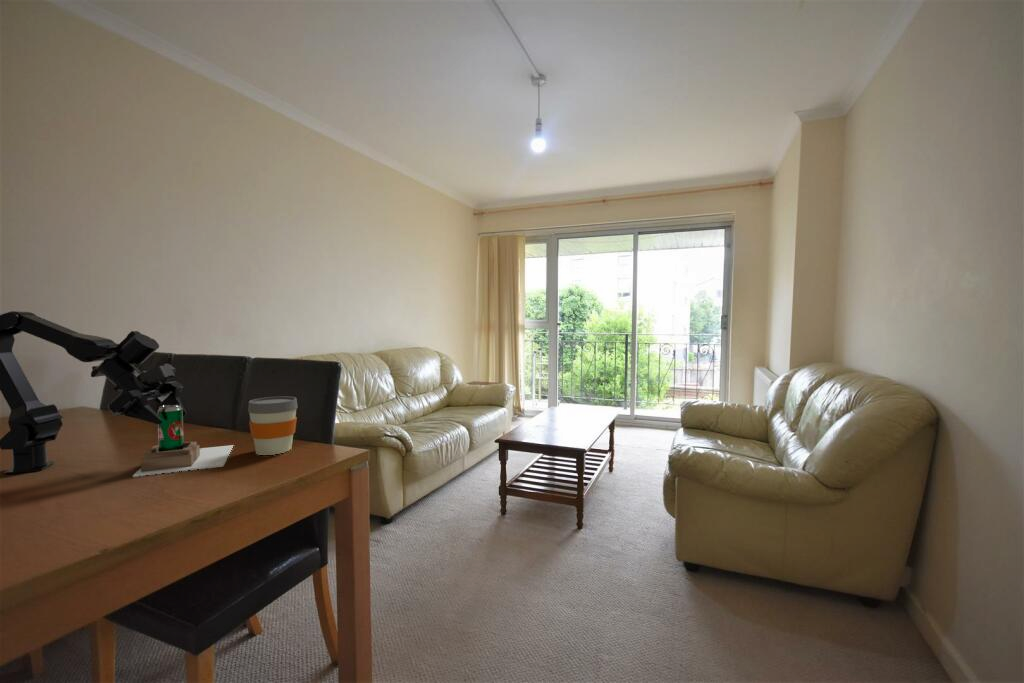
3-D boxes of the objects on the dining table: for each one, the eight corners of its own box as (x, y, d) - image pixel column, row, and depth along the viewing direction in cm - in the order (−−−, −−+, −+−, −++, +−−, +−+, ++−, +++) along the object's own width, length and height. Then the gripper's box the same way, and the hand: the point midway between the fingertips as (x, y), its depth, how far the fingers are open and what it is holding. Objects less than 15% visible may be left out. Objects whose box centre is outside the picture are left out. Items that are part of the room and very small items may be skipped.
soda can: (159, 451, 111) (158, 405, 110) (184, 447, 114) (182, 403, 113) (157, 456, 107) (156, 408, 106) (183, 452, 110) (182, 406, 109)
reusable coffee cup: (307, 449, 125) (306, 398, 124) (264, 460, 114) (263, 405, 114) (282, 443, 131) (281, 395, 131) (239, 453, 121) (238, 401, 120)
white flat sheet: (157, 454, 119) (157, 452, 119) (233, 446, 127) (233, 444, 127) (132, 477, 101) (132, 475, 101) (223, 466, 109) (223, 464, 109)
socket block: (153, 462, 112) (153, 444, 112) (199, 457, 117) (199, 440, 117) (141, 474, 104) (140, 455, 103) (191, 468, 108) (191, 449, 108)
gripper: (120, 357, 99) (172, 403, 101) (174, 352, 118) (217, 391, 120) (84, 391, 99) (137, 436, 100) (144, 380, 117) (188, 419, 119)
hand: (173, 419), depth 110 cm, fingers open, 9 cm apart
